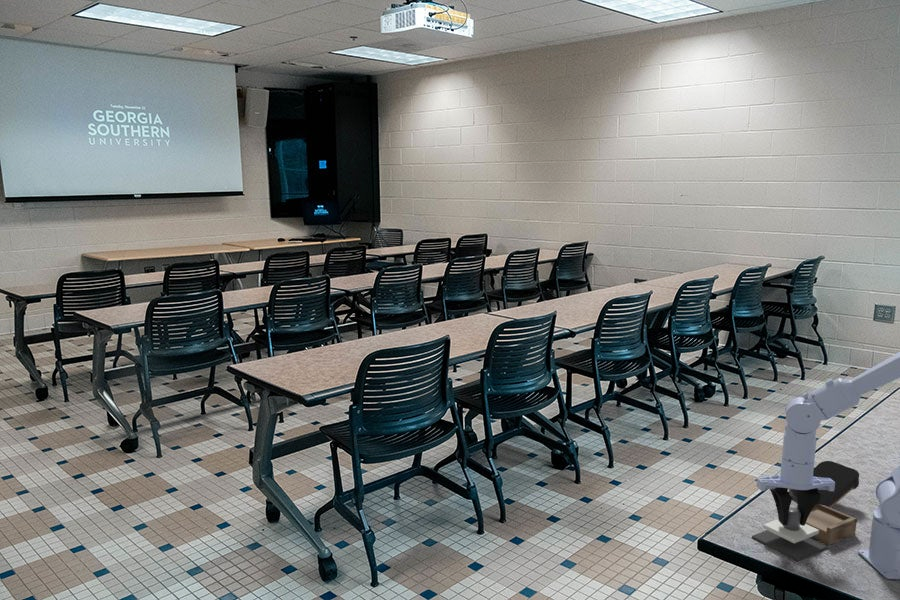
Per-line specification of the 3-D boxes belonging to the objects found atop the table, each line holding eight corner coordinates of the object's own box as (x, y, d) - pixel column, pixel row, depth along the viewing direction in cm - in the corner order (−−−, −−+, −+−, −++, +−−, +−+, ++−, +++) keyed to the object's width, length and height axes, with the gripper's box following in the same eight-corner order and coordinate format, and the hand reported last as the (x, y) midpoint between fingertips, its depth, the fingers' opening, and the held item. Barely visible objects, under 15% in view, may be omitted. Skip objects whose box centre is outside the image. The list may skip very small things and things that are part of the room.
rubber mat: (782, 525, 144) (782, 524, 144) (828, 547, 136) (828, 545, 136) (751, 537, 140) (751, 535, 139) (797, 560, 131) (797, 559, 131)
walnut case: (813, 515, 149) (815, 500, 148) (855, 534, 141) (856, 518, 141) (787, 525, 144) (789, 510, 144) (829, 545, 137) (830, 528, 136)
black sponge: (825, 471, 161) (825, 458, 160) (862, 485, 155) (862, 471, 153) (785, 503, 154) (784, 489, 152) (822, 519, 147) (822, 504, 145)
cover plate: (787, 519, 142) (789, 499, 141) (818, 533, 136) (820, 513, 136) (763, 528, 138) (765, 508, 138) (794, 543, 132) (796, 522, 132)
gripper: (824, 451, 139) (817, 513, 141) (752, 450, 139) (746, 513, 141) (843, 465, 132) (836, 531, 134) (768, 464, 132) (762, 530, 134)
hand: (791, 523), depth 137 cm, fingers closed on cover plate, 3 cm apart
